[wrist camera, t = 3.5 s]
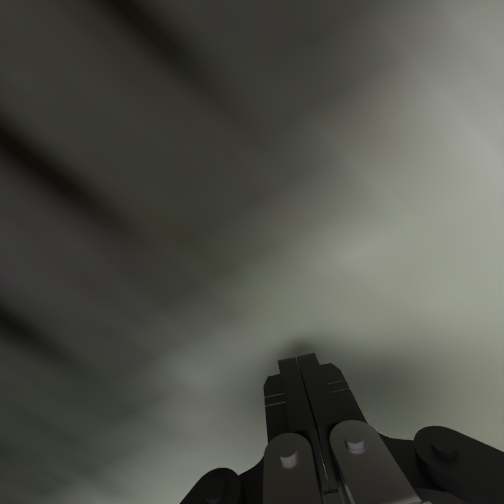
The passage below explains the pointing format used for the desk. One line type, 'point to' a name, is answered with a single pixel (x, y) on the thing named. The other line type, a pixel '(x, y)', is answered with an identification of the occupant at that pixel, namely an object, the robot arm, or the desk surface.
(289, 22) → the desk surface
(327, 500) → the black ball
